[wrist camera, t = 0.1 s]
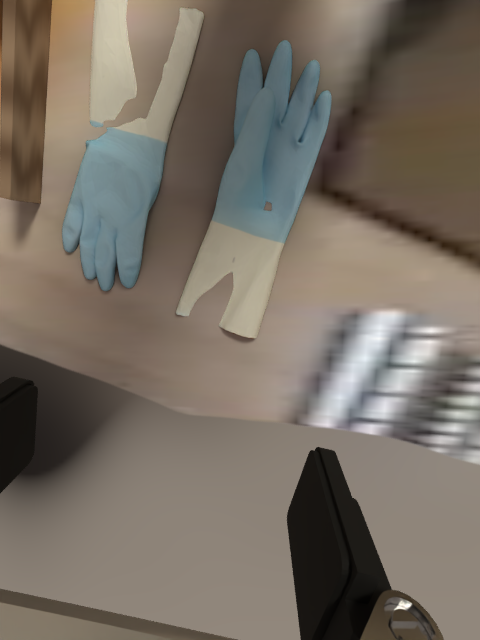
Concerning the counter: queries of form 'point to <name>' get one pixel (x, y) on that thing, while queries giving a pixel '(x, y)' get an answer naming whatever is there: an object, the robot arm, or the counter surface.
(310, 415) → the counter surface
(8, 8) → the wooden corner wall
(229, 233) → the rubber gloves
